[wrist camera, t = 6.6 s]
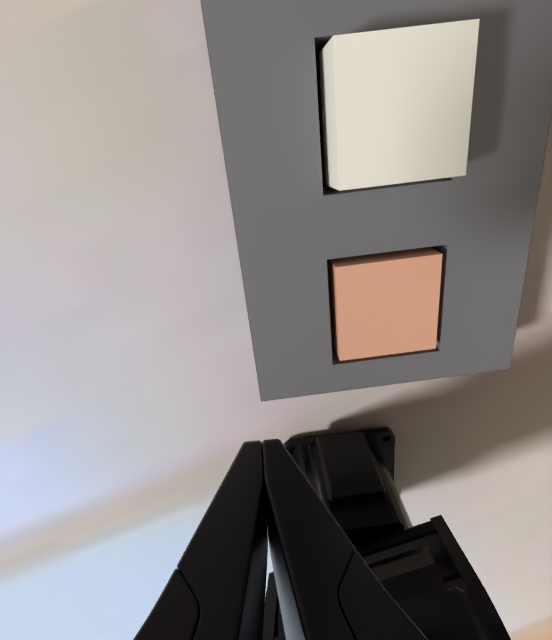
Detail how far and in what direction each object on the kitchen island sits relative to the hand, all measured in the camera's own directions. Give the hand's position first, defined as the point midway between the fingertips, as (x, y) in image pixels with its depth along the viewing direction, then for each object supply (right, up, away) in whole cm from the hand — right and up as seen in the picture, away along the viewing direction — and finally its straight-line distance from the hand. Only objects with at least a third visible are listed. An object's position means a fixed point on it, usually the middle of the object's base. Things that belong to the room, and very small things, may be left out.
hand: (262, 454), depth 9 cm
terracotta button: (+5, +5, +10) cm, 12 cm away
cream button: (+4, +11, +6) cm, 13 cm away
